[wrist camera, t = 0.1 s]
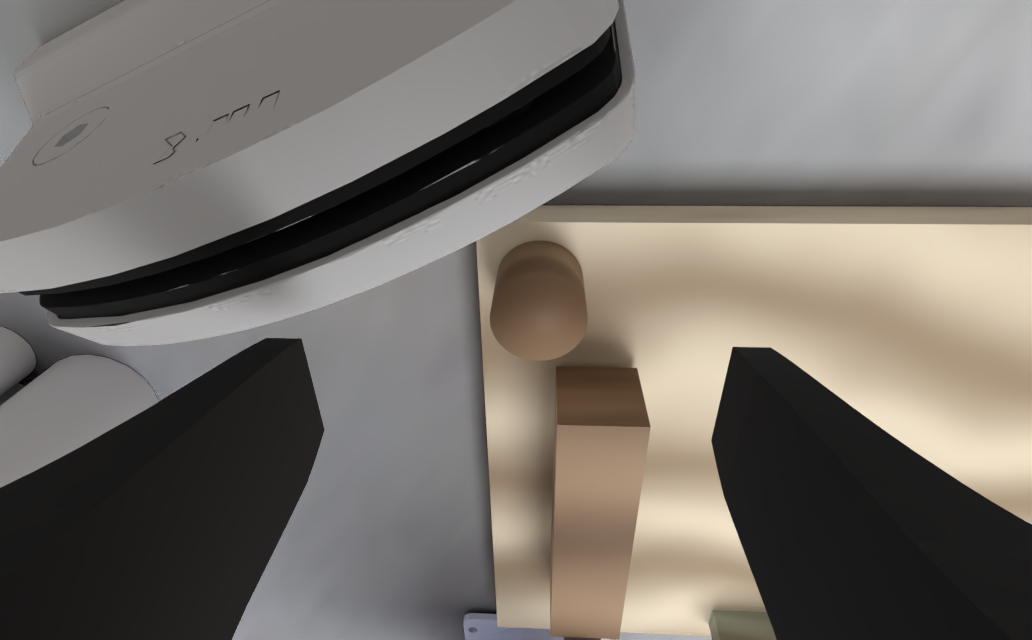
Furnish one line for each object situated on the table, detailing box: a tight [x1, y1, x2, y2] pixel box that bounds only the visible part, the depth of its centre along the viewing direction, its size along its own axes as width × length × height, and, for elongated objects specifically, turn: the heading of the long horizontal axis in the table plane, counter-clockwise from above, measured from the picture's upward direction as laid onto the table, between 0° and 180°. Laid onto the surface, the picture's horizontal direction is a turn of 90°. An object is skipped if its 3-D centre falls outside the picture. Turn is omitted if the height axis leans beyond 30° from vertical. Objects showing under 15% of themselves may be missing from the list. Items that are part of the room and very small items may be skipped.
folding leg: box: [550, 366, 651, 639], centre depth 21 cm, size 12×3×3 cm, turn 1°
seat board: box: [476, 205, 1032, 640], centre depth 21 cm, size 22×22×6 cm
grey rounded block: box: [0, 0, 635, 346], centre depth 13 cm, size 17×5×10 cm, turn 111°
